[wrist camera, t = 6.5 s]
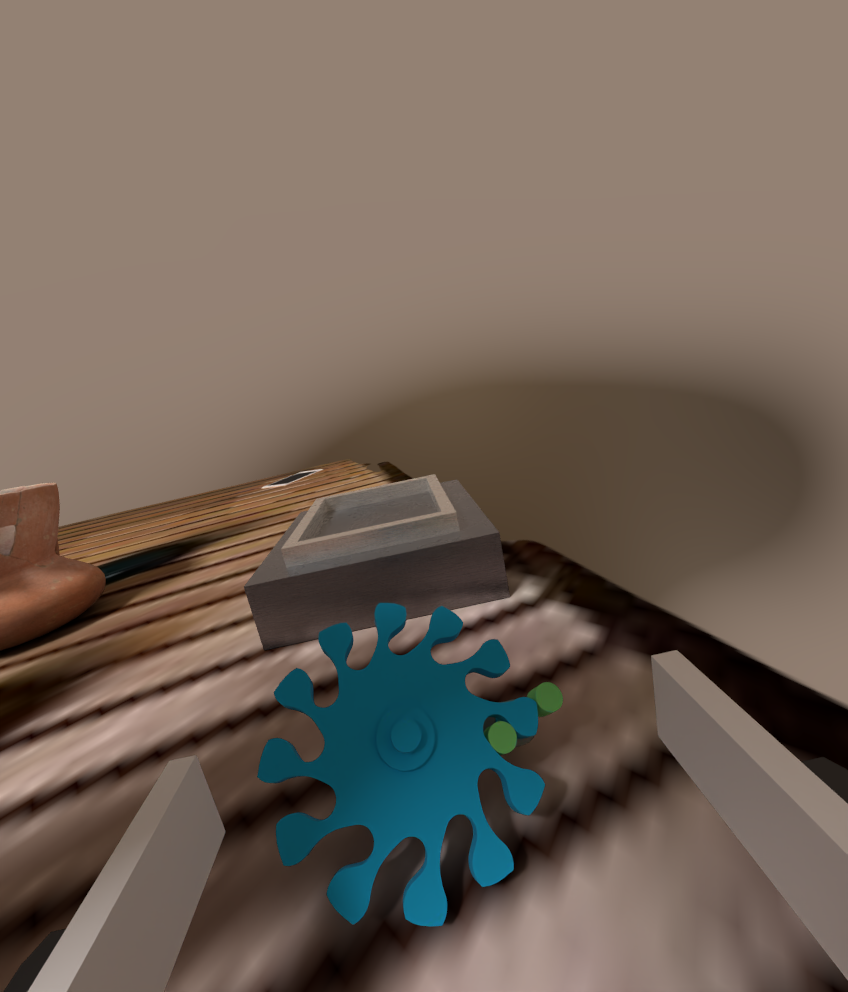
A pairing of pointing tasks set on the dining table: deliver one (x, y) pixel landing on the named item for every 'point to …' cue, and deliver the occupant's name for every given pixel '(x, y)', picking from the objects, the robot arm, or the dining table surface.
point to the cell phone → (292, 478)
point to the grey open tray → (377, 560)
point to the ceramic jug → (38, 568)
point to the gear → (407, 758)
